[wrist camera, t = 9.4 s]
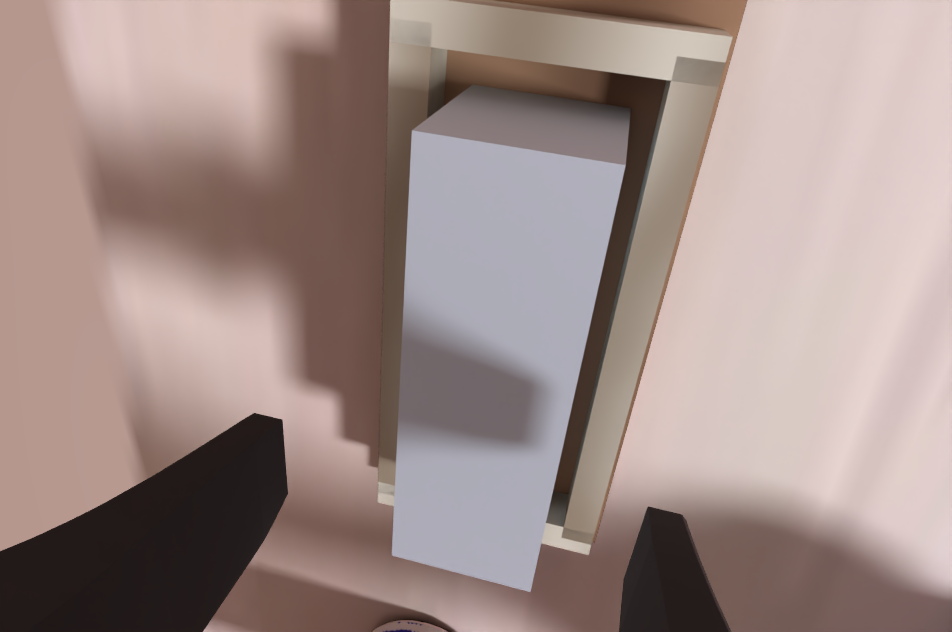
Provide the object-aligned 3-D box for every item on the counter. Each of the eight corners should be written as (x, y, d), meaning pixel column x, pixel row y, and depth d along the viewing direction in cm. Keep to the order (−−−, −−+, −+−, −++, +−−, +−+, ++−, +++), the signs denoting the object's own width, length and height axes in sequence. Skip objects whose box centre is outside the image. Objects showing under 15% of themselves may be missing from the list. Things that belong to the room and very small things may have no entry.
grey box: (631, 108, 16) (625, 165, 11) (552, 467, 22) (530, 592, 18) (472, 84, 16) (411, 130, 12) (439, 441, 22) (391, 555, 18)
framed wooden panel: (746, -20, 15) (763, -17, 13) (596, 521, 24) (591, 576, 22) (413, -59, 16) (378, -61, 14) (392, 472, 25) (369, 519, 23)
